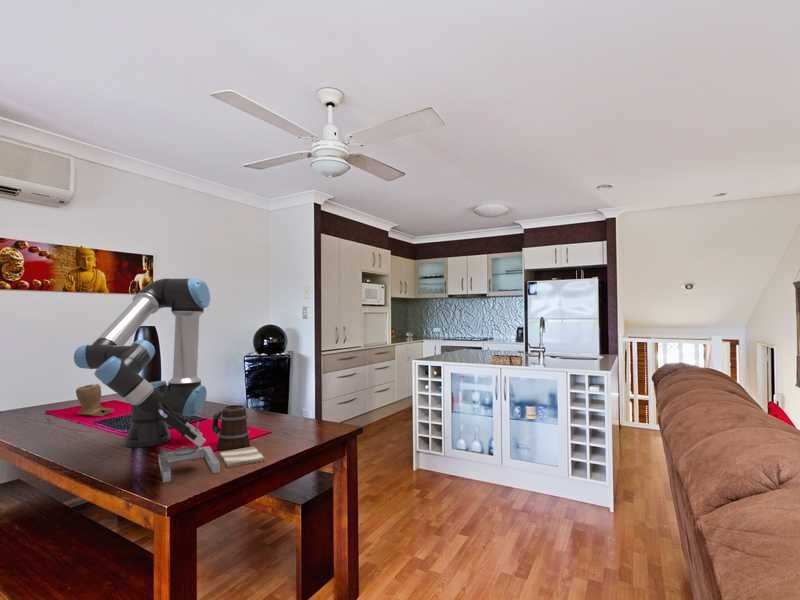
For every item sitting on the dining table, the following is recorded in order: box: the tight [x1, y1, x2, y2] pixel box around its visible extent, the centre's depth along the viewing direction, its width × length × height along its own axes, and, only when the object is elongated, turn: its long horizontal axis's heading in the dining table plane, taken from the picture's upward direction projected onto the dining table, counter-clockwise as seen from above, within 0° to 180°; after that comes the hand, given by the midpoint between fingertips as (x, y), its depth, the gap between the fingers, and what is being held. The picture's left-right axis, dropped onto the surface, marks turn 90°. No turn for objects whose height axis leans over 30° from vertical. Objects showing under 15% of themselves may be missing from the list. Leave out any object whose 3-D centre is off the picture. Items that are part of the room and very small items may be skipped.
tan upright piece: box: [75, 383, 115, 417], centre depth 208 cm, size 15×12×15 cm
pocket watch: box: [172, 420, 200, 456], centre depth 139 cm, size 8×8×10 cm
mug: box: [211, 404, 250, 451], centre depth 164 cm, size 16×12×15 cm
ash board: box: [219, 446, 265, 468], centre depth 150 cm, size 14×12×1 cm
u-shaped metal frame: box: [158, 445, 221, 484], centre depth 144 cm, size 26×16×3 cm, turn 33°
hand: (201, 440), depth 141 cm, fingers closed on pocket watch, 7 cm apart
